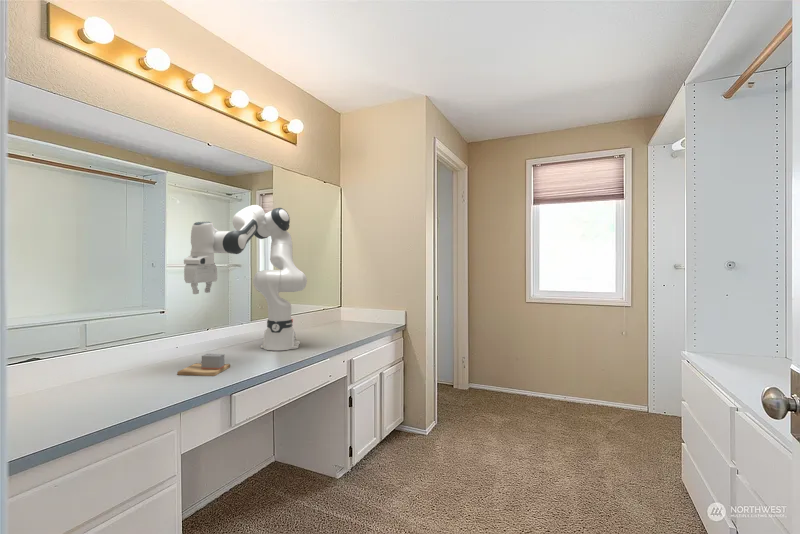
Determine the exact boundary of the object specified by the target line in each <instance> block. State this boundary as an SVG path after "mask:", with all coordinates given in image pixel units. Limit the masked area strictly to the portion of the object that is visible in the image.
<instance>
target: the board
mask: <svg viewBox="0 0 800 534" xmlns="http://www.w3.org/2000/svg"><path fill="white" fill-rule="evenodd" d="M230 368H231V364H230V363H224V367H223V368H221V369H201V363H199V362H198V363H197V362H196V363H194V364H192V365H189V366H187V367H185V368H182V369H180V370H178V371H177V374H176V375H178V376H202V377H203V376H205V377H206V376H207V377H210V376H211V377H215V376H217V375H219V374H220V373H222V372H224V371H226V370H228V369H230Z"/></svg>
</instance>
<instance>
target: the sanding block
mask: <svg viewBox="0 0 800 534" xmlns="http://www.w3.org/2000/svg"><path fill="white" fill-rule="evenodd" d="M200 361H201V369H221V368H223V367H224V364H225V354H224V353H205V354H203V355H201V360H200Z"/></svg>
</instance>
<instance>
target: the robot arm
mask: <svg viewBox="0 0 800 534" xmlns="http://www.w3.org/2000/svg"><path fill="white" fill-rule="evenodd" d="M290 218H291V217H290V214H289V212H288V211H286V210H285V209H284V208H282V207H276V208H273V209H272V210H270V211H268V212H265V210H264V209H263V207H262V206H260V205H258V204H252V205H248V206H246V207H244V208H242V209H240V210H239V211H237V212H236V213H235V214H234V215H233V217H232V225H233V228H234V229H235V230H218V229H217V228H215V227H214V224H213V222H212V221H197V222H196V221H195V222H194V223H193V224H192V227H191V232H190V246H191V250H190V255H188V257H186V258H184V259H183V264H184V265H185V266H184V268H183V269H184V270H183V273H184V274H183V277H184V282H185V284H190V286H191V288H192V289H191V290H192V294H193V295H198V294H199V293H200V292H199V291H200V289H198V286H199V284H200V283H205V288H204V293H211V288H212V286H213V282H217V280H218V267H217V265H216V263H215V254H233V255H239V254H241V253H242V252H243V251H244V250H245V248H246V247H247V244H248V243H249V242H250V240H251V239H252V238H253V237H255V238H258V239H259V240H264V239H267V238H269V237H270V239H271V243H270V251H269V252H270V253H269V260H270V263H271V265H272V266H273V267H274V268H276V269H265V270H258V271H257V272H256V273H254V276H253V278H252V285H253V286H254V288H255V290H256V291H258V292H259V293H260V294H261V295H262V296H263V298H265V301H266V303H267V321H266V327H267V328H266V329H265V330H264V332H263V341H262V343H263V344H261V345H260V349H264V350H265V351H267V350H268V351H287V350H295V349H299V348H300V347H299V346H300V345H299V344H301V341H300V340H297V336H296V335H297V333H296V331H295V330H294V328H293V321H294V319H293V318H292V304H291V302H290V301H288V300H287V299H285V298H282V297H281V296H280V295H279V293H295V292H301V291H304V289H305V288H306V287H307V284H308V279H307V278H308V277H307V275H306V274H305V272H303V271H301V270H300V269H299V268H298V267H297V266H296V265H295V262H294V259H293V241H292V236H291V233H290V232H288V230H289V229H290V222H291V221H290V220H291V219H290Z"/></svg>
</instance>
